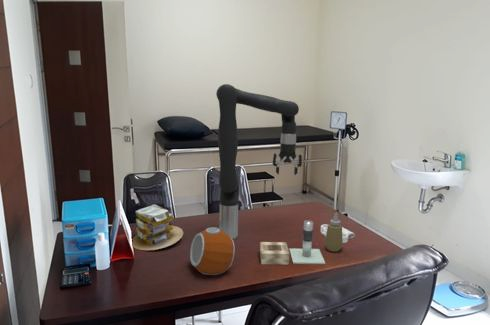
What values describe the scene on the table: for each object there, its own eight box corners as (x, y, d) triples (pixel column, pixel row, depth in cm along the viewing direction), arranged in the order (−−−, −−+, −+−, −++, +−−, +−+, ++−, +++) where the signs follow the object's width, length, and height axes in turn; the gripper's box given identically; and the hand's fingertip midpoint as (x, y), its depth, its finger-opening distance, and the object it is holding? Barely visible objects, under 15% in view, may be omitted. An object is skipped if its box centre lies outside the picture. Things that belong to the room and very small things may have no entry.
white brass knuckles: (359, 240, 199) (336, 245, 193) (336, 227, 215) (314, 232, 208) (359, 234, 198) (336, 238, 192) (336, 222, 214) (314, 226, 208)
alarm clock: (185, 261, 172) (185, 224, 168) (223, 255, 178) (224, 219, 175) (198, 282, 155) (198, 241, 151) (239, 274, 161) (240, 235, 158)
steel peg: (302, 257, 177) (304, 223, 173) (300, 253, 181) (302, 220, 178) (312, 257, 177) (314, 223, 173) (310, 253, 181) (312, 220, 178)
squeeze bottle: (332, 254, 182) (334, 217, 178) (321, 247, 189) (323, 211, 185) (345, 251, 185) (348, 214, 181) (334, 244, 192) (337, 209, 188)
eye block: (261, 264, 171) (261, 253, 170) (259, 252, 182) (260, 241, 181) (288, 264, 171) (289, 253, 170) (285, 252, 183) (286, 242, 182)
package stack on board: (135, 255, 176) (134, 220, 173) (127, 234, 198) (126, 203, 195) (189, 246, 186) (189, 213, 183) (175, 228, 208) (175, 198, 205)
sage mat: (293, 263, 172) (293, 262, 172) (289, 249, 186) (289, 248, 186) (325, 264, 172) (325, 262, 172) (318, 250, 186) (319, 248, 186)
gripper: (274, 143, 190) (272, 175, 194) (303, 144, 190) (301, 176, 194) (273, 140, 198) (271, 172, 201) (301, 141, 198) (299, 172, 201)
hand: (286, 174), depth 198 cm, fingers open, 8 cm apart
